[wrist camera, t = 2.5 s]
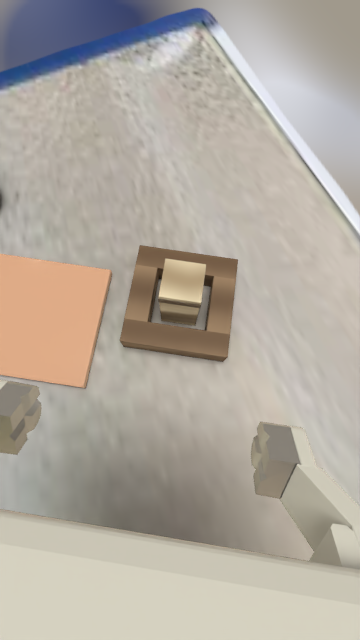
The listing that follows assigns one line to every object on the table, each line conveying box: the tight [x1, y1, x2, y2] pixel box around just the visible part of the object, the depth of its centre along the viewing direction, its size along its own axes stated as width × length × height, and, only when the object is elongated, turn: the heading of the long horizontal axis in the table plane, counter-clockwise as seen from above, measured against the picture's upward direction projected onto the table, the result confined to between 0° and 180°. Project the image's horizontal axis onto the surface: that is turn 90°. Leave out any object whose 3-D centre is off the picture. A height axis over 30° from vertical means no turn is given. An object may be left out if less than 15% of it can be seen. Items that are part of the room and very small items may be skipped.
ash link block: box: [158, 258, 206, 326], centre depth 34 cm, size 4×4×8 cm
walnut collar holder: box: [120, 245, 238, 362], centre depth 36 cm, size 12×12×3 cm
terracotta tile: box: [0, 254, 112, 388], centre depth 36 cm, size 14×14×1 cm
